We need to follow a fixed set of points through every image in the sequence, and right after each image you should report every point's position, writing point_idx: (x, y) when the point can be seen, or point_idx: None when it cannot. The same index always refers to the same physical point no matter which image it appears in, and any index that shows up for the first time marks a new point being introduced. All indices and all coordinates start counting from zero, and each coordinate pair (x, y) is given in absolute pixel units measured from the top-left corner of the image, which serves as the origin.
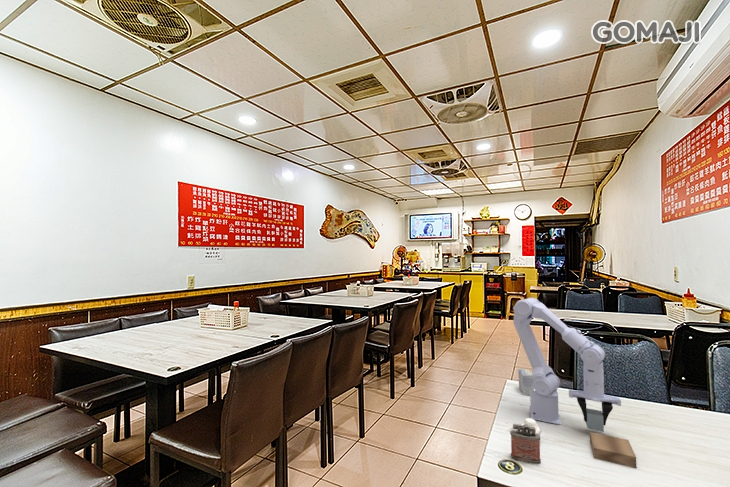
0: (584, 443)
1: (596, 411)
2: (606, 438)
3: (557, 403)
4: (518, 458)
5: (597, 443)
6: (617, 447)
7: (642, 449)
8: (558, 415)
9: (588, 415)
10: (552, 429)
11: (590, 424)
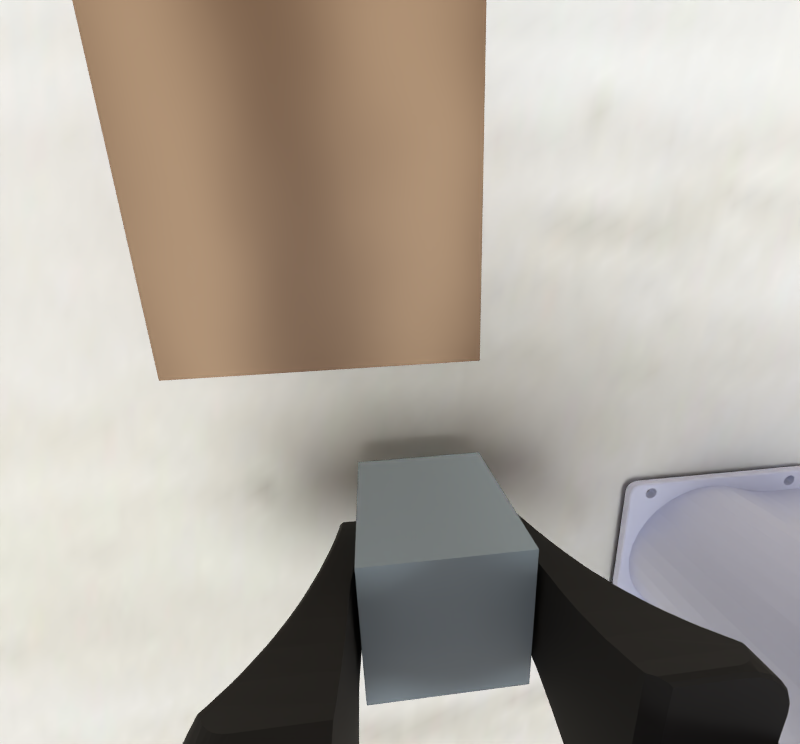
0: (499, 284)
1: (421, 663)
2: (345, 299)
3: (770, 657)
4: None
5: (437, 124)
6: (252, 132)
7: (109, 416)
8: (651, 570)
9: (515, 535)
10: (688, 390)
11: (466, 477)
